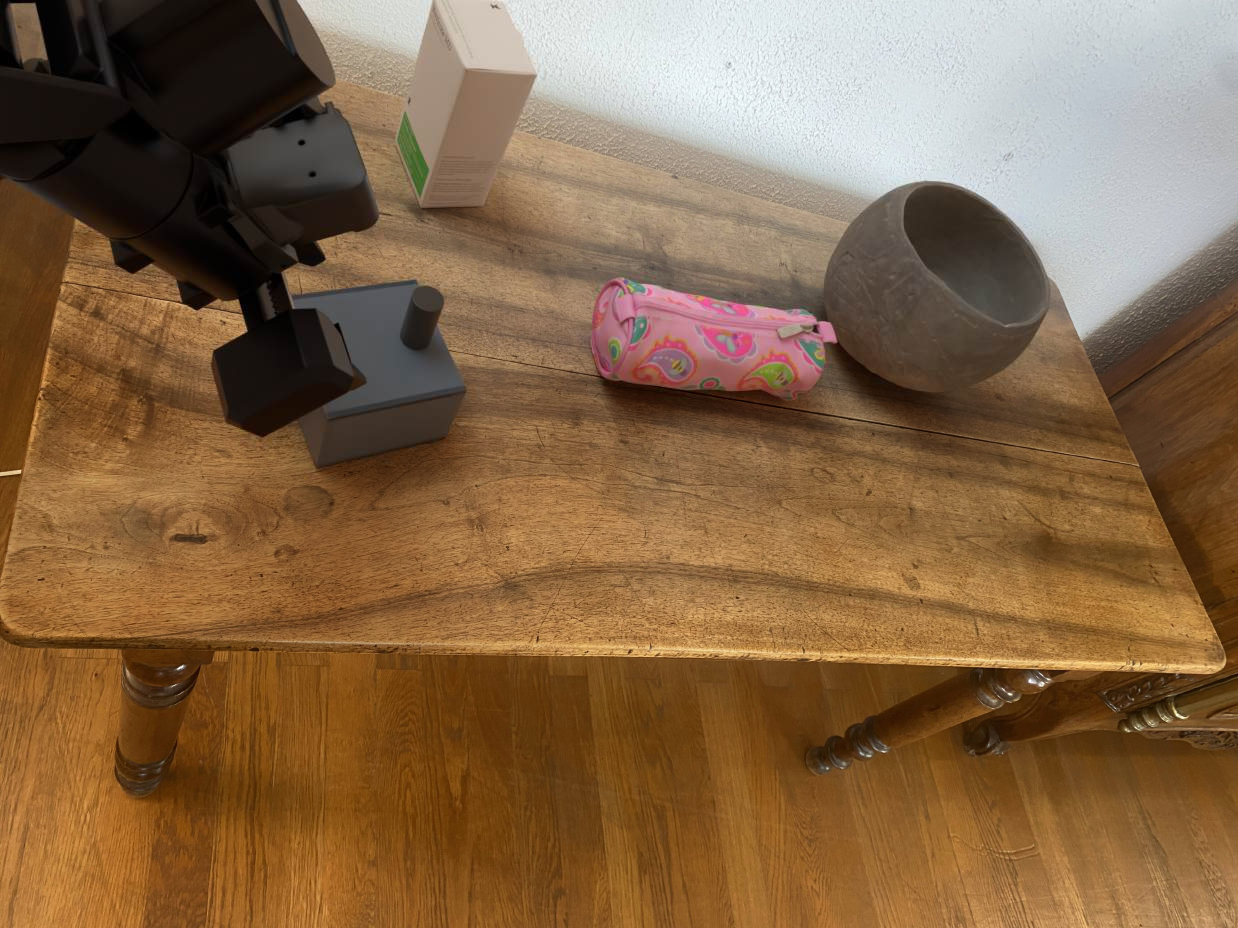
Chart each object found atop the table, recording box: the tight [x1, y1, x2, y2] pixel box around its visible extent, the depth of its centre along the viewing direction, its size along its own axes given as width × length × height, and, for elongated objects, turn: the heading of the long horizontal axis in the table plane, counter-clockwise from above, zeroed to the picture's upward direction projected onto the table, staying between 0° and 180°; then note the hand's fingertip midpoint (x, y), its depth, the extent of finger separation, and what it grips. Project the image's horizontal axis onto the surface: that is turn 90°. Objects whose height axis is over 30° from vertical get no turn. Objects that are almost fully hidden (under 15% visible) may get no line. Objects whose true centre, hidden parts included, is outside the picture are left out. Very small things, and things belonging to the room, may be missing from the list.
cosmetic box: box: [394, 0, 538, 209], centre depth 75 cm, size 8×7×16 cm
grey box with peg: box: [291, 279, 468, 469], centre depth 62 cm, size 12×10×10 cm
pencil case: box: [589, 276, 838, 402], centre depth 78 cm, size 21×9×9 cm, turn 99°
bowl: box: [822, 180, 1052, 393], centre depth 88 cm, size 21×21×15 cm
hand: (338, 321), depth 53 cm, fingers open, 9 cm apart
